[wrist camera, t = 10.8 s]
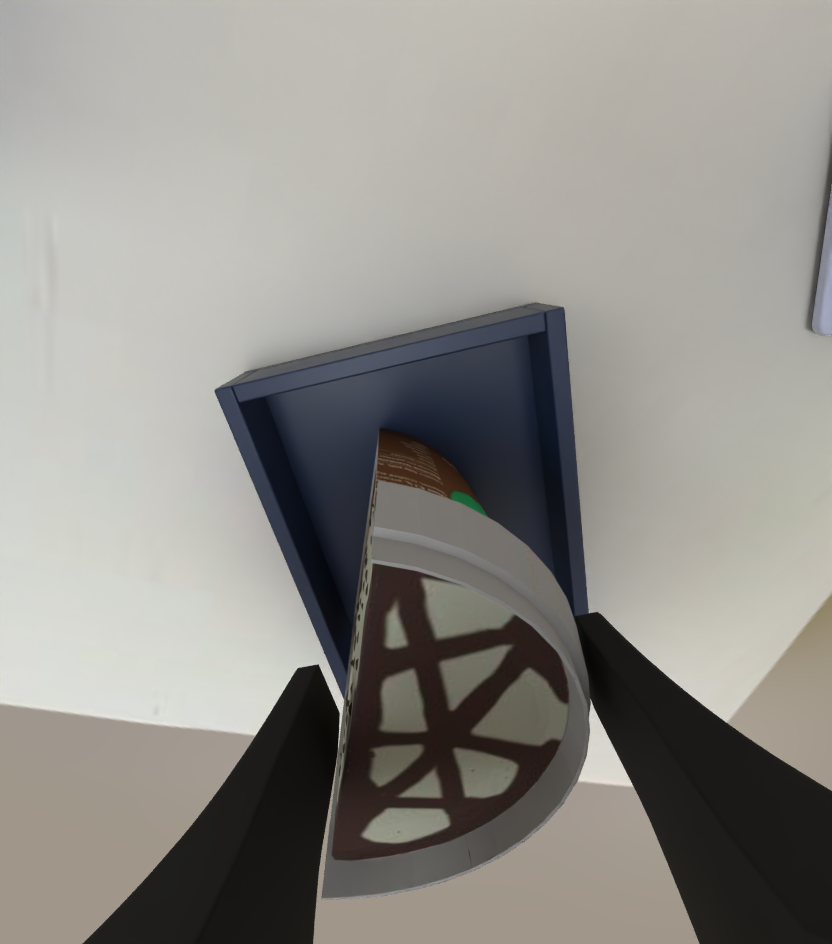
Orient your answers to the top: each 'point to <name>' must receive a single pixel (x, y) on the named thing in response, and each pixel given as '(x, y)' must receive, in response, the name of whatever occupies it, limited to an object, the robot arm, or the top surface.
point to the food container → (449, 687)
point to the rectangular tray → (423, 417)
